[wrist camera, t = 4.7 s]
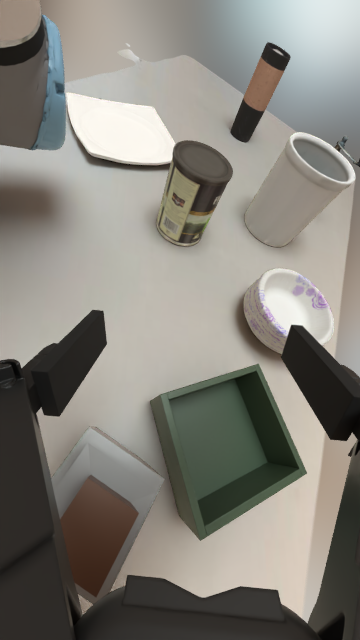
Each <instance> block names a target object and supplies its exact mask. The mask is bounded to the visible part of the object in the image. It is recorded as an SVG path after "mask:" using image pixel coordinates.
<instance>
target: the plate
mask: <svg viewBox="0 0 360 640" xmlns="http://www.w3.org/2000/svg"><path fill="white" fill-rule="evenodd" d="M66 97H67V105H68V113H69V117H70V120H71V124H72V127H73V129H74V131H75V133H76V135H77V137H78V139H79V140H80V141H81V143H82V144H83V146H84V147H85V149H86V150H87V152H88V153H89V154H90V155H92V156H94V157H97V158H102V159H106V160H110V161H115V162H119V163H125V164H136V165H162V164H169V163H171V161H172V157H173V155H172V153H173V148H174V146H175V145H176V144H175V142H174V141H173V139H172V137H171V135H170V134H169V132H168V130H167V129H166V127H165V125H164V124H163V122H162V120H161V119H160V117H159V115H158V114H157V112H156V111H155V109H154V108H153V107H151V106H142V105H134V104H126V103H120V102H114V101H108V100H102V99H97V98H92V97H88V96H83V95H79V94H74V93H70V92H67V93H66Z"/></svg>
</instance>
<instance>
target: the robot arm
mask: <svg viewBox="0 0 360 640" xmlns="http://www.w3.org/2000/svg"><path fill="white" fill-rule="evenodd" d="M64 90H65V85H64V64H63V54H62V45H61V39H60V33H59V30H58V28H57V26H56V25H55V23H54V22H53V21H51V20H49V19H48V18H47V17H46V16H45V15H42V13H41V6H40V1H39V0H0V145H5V146H12V147H18V148H25V149H29V150H36V149H42V150H58V149H60V148H61V147H62V145H63V144H64V141H65V133H66V101H65V93H64ZM106 345H107V341H106V331H105V322H104V313H103V311H99V310H92V311H91V312H90V313H89V314H88V315H87V316H86V317H85V318H84V319H83V320H82V321H81V322H80V323H79V324H78V325H77V326H76V327H75V328H74V329H73V330H72V331H71V332H70V333H69V334H68V335H66V336H65V337H64V338H63V339H62V340H61V341H60V342H59V343H58V344H56V343H53V344H51V345H49V346H47V347H45V348H44V349H43V350H41V351H40V352H39V353H38V355H36V356H35V357H34V358H33V359H32V360H30V361H29V362H28V363H27V364H26V365H25V366H24V367H23V368H22V369H21V366H20V363H19V362H18V361H17V360H14V359H7V360H1V361H0V640H360V378H359V376H357V375H356V373H355V372H354V371H352V370H350V369H349V368H347V367H346V366H344V365H340V364H339V363H338V362H337V361H336V360H335V359H334V358H333V357H332V356H331V355H330V354H329V353H328V352H327V350H326V349H325V348H324V347H323V346H322V345H321V344H320V343H319V342H318V341H317V340H316V339H315V338H314V337H313V336H312V335H311V334H310V333H309V332H308V331H307V330H306V329H305V328H304V327H303V326H302V325H291V327H290V330H289V333H288V336H287V340H286V343H285V346H284V349H283V352H282V356H281V358H282V360H283V362H284V363H285V365H286V367H287V368H288V370H289V372H290V373H291V375H292V377H293V378H294V380H295V382H296V383H297V385H298V387H299V388H300V390H301V391H302V393H303V395H304V396H305V398H306V400H307V401H308V403H309V405H310V406H311V408H312V410H313V411H314V413H315V415H316V416H317V418H318V420H319V421H320V423H321V425H322V426H323V428H324V430H325V431H326V433H327V434H328V436H329V438H330V439H331V440H341V441H347V440H348V438H349V437H350V435H351V433H352V432H353V434H354V435H355V436H356V438H357V439H358V440H357V442H356V443H355V445H354V446H353V448H352V449H351V451H350V453H349V454H348V456H350V457H351V456H352V457H351V462H350V465H349V470H348V474H347V478H346V482H345V486H344V491H343V495H342V499H341V503H340V508H339V512H338V516H337V520H336V525H335V529H334V533H333V537H332V541H331V546H330V550H329V555H328V559H327V563H326V567H325V571H324V575H323V579H322V584H321V588H320V592H319V596H318V599H317V602H316V604H315V607H314V608H313V611H312V613H311V615H310V618H309V621H308V624H307V623H306V622H305V621H304V620H303V619H301V618H300V617H299V616H298V615H297V614H296V613H294V612H293V611H292V610H290V609H289V608H287V607H286V606H284V605H282V604H281V602H280V598H279V593H278V590H271V589H261V588H251V587H241V586H240V587H237V588H234V589H231V590H228V591H225V592H222V593H219V594H215V595H212V596H209V597H206V598H201V597H198V596H196V595H194V594H192V593H191V592H189V591H187V590H185V589H183V588H181V587H179V586H177V585H175V584H173V583H171V582H169V581H167V580H166V579H162V578H153V577H143V576H133V575H127V581H126V586H125V587H121V588H118V589H116V590H114V591H112V592H110V593H108V594H107V595H105V596H104V597H102V598H101V599H99V600H98V601H97V602H96V603H95V604H94V605H93V606H91V607H90V608H89V609H88V610H87V611H86V613H85V614H84V615H82V611H81V606H80V602H79V598H78V594H77V590H76V586H75V583H74V579H73V575H72V571H71V567H70V563H69V558H68V553H67V549H66V544H65V540H64V535H63V531H62V526H61V522H60V517H59V513H58V508H57V504H56V499H55V494H54V490H53V485H52V481H51V476H50V472H49V467H48V463H47V458H46V454H45V449H44V445H43V440H42V436H41V431H40V426H39V422H38V418H37V415H36V413H37V412H38V410H39V409H40V408H41V407H42V410H43V413H44V415H47V416H60V415H61V413H62V412H63V410H64V409H65V407H66V406H67V404H68V403H69V401H70V400H71V398H72V397H73V395H74V393H75V392H76V390H77V389H78V387H79V386H80V384H81V383H82V381H83V380H84V378H85V377H86V375H87V374H88V372H89V371H90V369H91V367H92V366H93V364H94V363H95V361H96V360H97V358H98V357H99V355H100V354H101V352H102V351H103V349H104V348H105V346H106Z"/></svg>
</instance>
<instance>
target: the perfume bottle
mask: <svg viewBox="0 0 360 640" xmlns="http://www.w3.org/2000/svg"><path fill="white" fill-rule="evenodd" d="M164 480H165V479H164V478H163V477H162V476H161V475H159V474H158V473H157V472H156V471H155V470H154V469H152V468H151V467H150V466H149V465H148V464H147V463H145V462H144V461H143V460H142V459H141V458H139V457H138V456H137V455H135V454H134V453H132V452H131V451H129V450H128V449H127V448H125V447H124V446H122V445H121V444H119V443H118V442H116V441H115V440H114V439H112V438H111V437H109V436H108V435H106V434H105V433H104V432H102V431H101V430H99V429H98V428H96V427H89V428H88V429H87V430H86V432H85V433H84V434H83V436H82V437H81V438H80V440H79V441H78V442H77V444H76V445H75V447H74V448H73V449H72V451H71V452H70V453H69V455H68V456H67V457H66V459H65V460H64V461H63V463H62V464H61V466H60V467H59V468H58V470H57V471H56V472H55V474H54V475H53V476H52V478H51V481H52V485H53V490H54V494H55V499H56V504H57V508H58V513H59V517H60V522H61V526H62V531H63V535H64V540H65V544H66V549H67V553H68V558H69V563H70V567H71V571H72V575H73V579H74V583H75V586H76V590H77V593H78V594H79V595H81V596H82V597H84V598H85V599H86V600H88V601H89V602H91V603H92V604H95V603H96V602H97V601H98V600H99V599H101V598H102V597H104V596H105V595H107V594H108V593H109V592H110V590H111V588H112V586H113V584H114V582H115V580H116V578H117V576H118V574H119V572H120V570H121V568H122V566H123V564H124V561H125V559H126V557H127V555H128V553H129V551H130V549H131V547H132V545H133V543H134V541H135V539H136V537H137V535H138V533H139V531H140V529H141V527H142V525H143V523H144V521H145V519H146V517H147V515H148V512H149V510H150V508H151V506H152V504H153V502H154V500H155V498H156V496H157V494H158V492H159V490H160V488H161V486H162V484H163V482H164Z"/></svg>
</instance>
